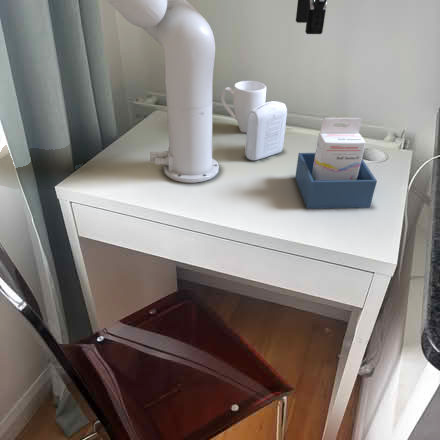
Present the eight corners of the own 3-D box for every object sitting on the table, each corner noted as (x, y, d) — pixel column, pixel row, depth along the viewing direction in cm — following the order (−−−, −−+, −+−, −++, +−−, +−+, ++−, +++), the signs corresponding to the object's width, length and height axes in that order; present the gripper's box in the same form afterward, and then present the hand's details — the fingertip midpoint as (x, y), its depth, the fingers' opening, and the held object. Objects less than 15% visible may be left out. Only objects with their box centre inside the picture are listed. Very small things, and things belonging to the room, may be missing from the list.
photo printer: (273, 146, 115) (278, 95, 107) (285, 152, 113) (291, 101, 105) (242, 156, 111) (245, 104, 102) (254, 163, 108) (257, 110, 100)
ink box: (313, 196, 96) (326, 126, 86) (309, 184, 100) (320, 116, 90) (354, 195, 96) (370, 126, 86) (348, 184, 100) (363, 116, 90)
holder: (307, 208, 93) (311, 182, 89) (295, 178, 103) (298, 152, 99) (369, 207, 94) (377, 181, 90) (352, 177, 104) (357, 152, 100)
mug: (267, 127, 124) (271, 83, 117) (256, 138, 119) (259, 93, 111) (227, 119, 128) (228, 76, 120) (215, 130, 122) (215, 85, 115)
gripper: (292, -87, 85) (282, 18, 96) (312, -82, 72) (297, 38, 84) (331, -86, 85) (317, 18, 97) (358, -81, 73) (337, 38, 84)
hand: (308, 27), depth 90 cm, fingers open, 9 cm apart
